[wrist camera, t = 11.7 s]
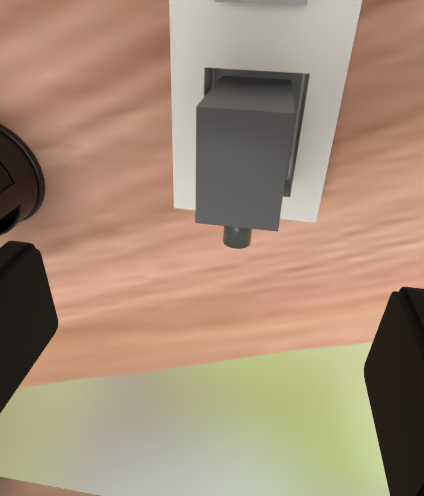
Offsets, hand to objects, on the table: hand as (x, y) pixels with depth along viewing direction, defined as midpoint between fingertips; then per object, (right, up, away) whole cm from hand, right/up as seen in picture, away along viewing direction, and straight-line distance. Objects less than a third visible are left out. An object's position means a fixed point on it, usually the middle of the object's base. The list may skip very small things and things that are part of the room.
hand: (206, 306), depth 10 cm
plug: (+3, +10, +16) cm, 19 cm away
